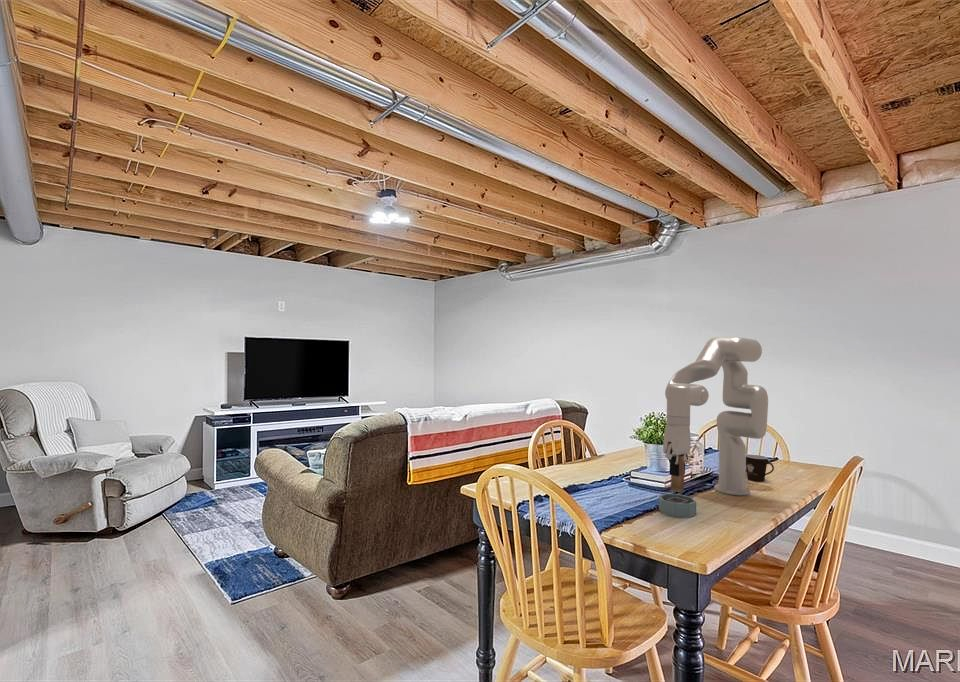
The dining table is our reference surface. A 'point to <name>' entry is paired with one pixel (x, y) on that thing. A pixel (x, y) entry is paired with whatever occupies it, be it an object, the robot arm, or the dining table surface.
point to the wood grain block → (678, 481)
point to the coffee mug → (757, 467)
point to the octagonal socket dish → (677, 505)
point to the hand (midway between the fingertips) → (677, 474)
